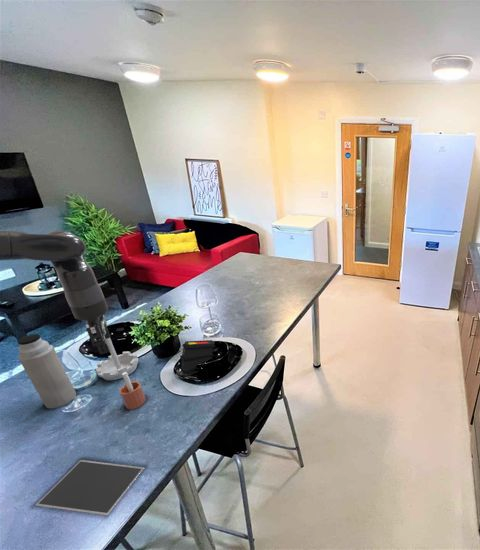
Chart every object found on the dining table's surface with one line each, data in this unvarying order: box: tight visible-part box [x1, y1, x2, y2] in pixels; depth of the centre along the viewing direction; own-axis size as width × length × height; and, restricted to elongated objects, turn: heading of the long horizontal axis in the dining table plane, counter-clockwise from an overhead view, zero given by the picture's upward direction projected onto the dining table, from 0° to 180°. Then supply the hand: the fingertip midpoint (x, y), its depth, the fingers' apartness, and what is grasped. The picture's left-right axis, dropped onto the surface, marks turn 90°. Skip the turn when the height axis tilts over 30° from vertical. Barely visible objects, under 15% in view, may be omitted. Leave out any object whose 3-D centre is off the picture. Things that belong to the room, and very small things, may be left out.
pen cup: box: [119, 381, 147, 410], centre depth 103 cm, size 6×6×8 cm
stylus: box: [122, 372, 134, 392], centre depth 102 cm, size 1×1×14 cm
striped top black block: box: [179, 339, 216, 378], centre depth 120 cm, size 4×13×15 cm, turn 140°
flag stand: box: [95, 337, 139, 381], centre depth 113 cm, size 13×13×30 cm
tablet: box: [34, 459, 145, 516], centre depth 79 cm, size 12×20×1 cm, turn 85°
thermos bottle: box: [17, 333, 77, 410], centre depth 99 cm, size 8×8×28 cm
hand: (105, 345), depth 89 cm, fingers open, 8 cm apart
